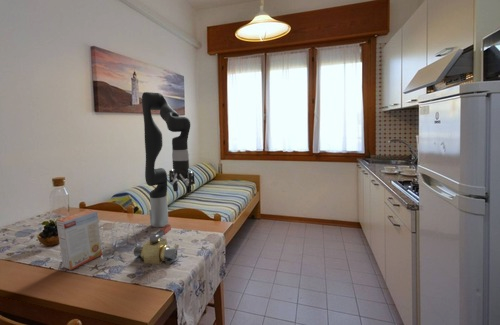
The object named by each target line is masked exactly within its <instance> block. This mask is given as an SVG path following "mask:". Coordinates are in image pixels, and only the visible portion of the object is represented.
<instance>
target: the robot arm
mask: <svg viewBox="0 0 500 325" xmlns="http://www.w3.org/2000/svg"><path fill="white" fill-rule="evenodd" d="M141 107H142V114H143V122H144V123H143V125H144V126H143V127H144V148H145V152H144V153H145V167H144V168H145V169H144V170H145V171H144V177H145V183H146V185H147V186H148V187H153V186H156V187H155V188H153V189H152V190H150V192H149V202H150V203H149V204H150V209H149V222H150V227H153V228H163V227H164V226H165V225H170V224H169V211H168V206H169V205H168V196H167V195H168V194H167V193H168V181H169V183H171V184H172V189H173V192H177V191H178V190H179V186H178V184H179V183H178V182H179V181H182V182H183V183H185V185H186V194H191V193H192V186H193V185H195V184H196V182H195V172H194V171H189V169H190V159H189V155H190V154H189V151H188V150H189V148H188V140H189V135H190V134H189V133H190V129H191V121H190V119H189V117H187V116H180V115H179V114H178V112H177V111H176V110H175V109H173V108H172V106H170V103H169V102H168V101H167V99H166V98H165V96H164V95H163V94H162V93H159V92H149V91H144V92H143V93H142V96H141ZM152 111H159V115H160V117H161V119H162V120H163V121H164V122H165V124H166V127H167V130H168V131H170V132H171V133H179V132H180V134H179V136H174V137H173V138H171V139H172V140H171V146H172V155H171V156H172V158H171V159H172V168H173V169H171V170H169V172H168V173H169V174H167V171H166V169H165V168H163V167H159V168H155V164H156V160H157V159H158V156H159V155H160V152H161V150H162V148H163V133H162V131H161V129H160V128H159V126H158V125H157V123H156V122H155V120H154V118H153V115H152ZM168 176H169V180H168Z"/></svg>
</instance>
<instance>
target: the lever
mask: <svg viewBox="0 0 500 325" xmlns="http://www.w3.org/2000/svg"><path fill="white" fill-rule="evenodd" d="M171 230H172V226H171V224H168V225H165V226H164V227H160V229H159V231H158V230H157V232H156V233H152V234H150V235H149V240H150V243H156V242H159V241H160V238H162V237H163V236H165V235H166V234H168V233H169V232H170V231H171Z"/></svg>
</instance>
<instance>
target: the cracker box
mask: <svg viewBox="0 0 500 325" xmlns="http://www.w3.org/2000/svg"><path fill="white" fill-rule="evenodd" d="M56 229H57V235H58V240H59V241H58V242H59V248H60V254H61V262H62V267H63V268H64V269H67V270H68V271H69V270H70V271H72V270H74V269H77V268H79V267H81V266H82V265H84V264H86V263H89V262H90V261H93V260H95V259H96V258H97V259H98V258H99V257H101V256H103V250H102V242H101V241H102V240H101V234H100V224H99V216H98V211H97V210H92V209H88V210H84V211H81V212H78V213H75V214H71V215H68V216H65V217H62V218H57V219H56Z"/></svg>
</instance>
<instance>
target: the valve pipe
mask: <svg viewBox="0 0 500 325" xmlns="http://www.w3.org/2000/svg"><path fill="white" fill-rule="evenodd" d="M167 241H168V240H167V238H162V237H161V238H160V241H159V242H156V243H150V239H148V240H147V241H146V242H145V243H143V244H142V245H136V246H135V248H134V249H133V256H134V257H135V259H134V260H135V262H142V261H143V263H144V264H150V265H151V264H153V265H160V264H162V262H165V264H167V265H172V263H174V261H176V259H177V257H178V249H177V248H175V247H174V248H172V247H170V245H168V242H167Z"/></svg>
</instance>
